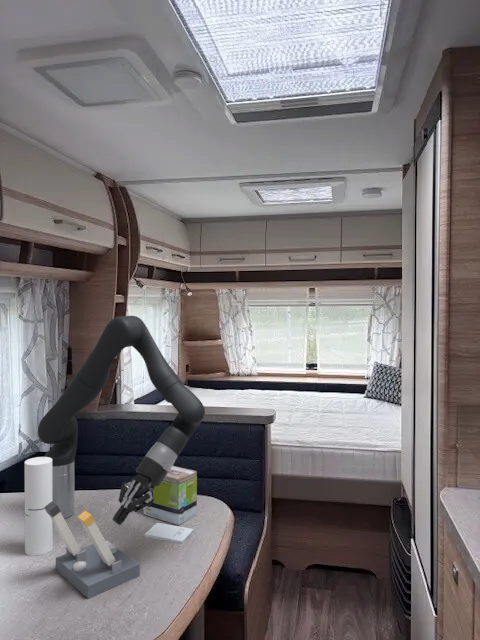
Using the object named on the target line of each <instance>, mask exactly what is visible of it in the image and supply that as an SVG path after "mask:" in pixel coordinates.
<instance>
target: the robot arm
mask: <svg viewBox="0 0 480 640" xmlns="http://www.w3.org/2000/svg"><path fill="white" fill-rule="evenodd" d="M94 346H95V347H94V348H93V349H92V351H91V352H90V353H89V355H88V357H87V358H86V359H85V361H84V362H83V364H82V365H81V367H80V368H79V369H78V371H77V372H76V373H75V375H74V376H73V378H72V380H70V382H69V384H68V386H67V387H66V388H65V390H64V391H63V392H62V394H61V396H60V397H59V398H58V400H57V401H56V402H55V404H54V405H53V406H52V407H51V408H50V409H49V411H47V413H45V415H44V416H43V417H42V418H41V420H40V421H39V424H38V429H37V436H38V438H39V440H40V441H41V442H42V443H44V444H47V445H52V447H51V448H50V449H49V450H48V451H47V452H46V453H45V454H44V456H43V457H50V458H52V502H54V503H55V504H56V505H58V507H59V509H60V511H61V514H62V516H63V518H64V520H66V519H68V518H70V517H72V516H73V515H74V514H75V457H76V453H77V449H78V434H79V433H78V432H79V430H78V429H79V426H78V420H77V417H76V416H75V415H76V414H77V413H79V412H80V411H82V410H83V409H84V408H86V407H87V406H88V405H89V404H91V403H92V402H93V401H94V400H96V398H98V396H99V395H100V393H101V392H102V391H103V389H104V388H105V387H106V385H107V383H108V382H109V378H110V375H111V374H110V372H111V366H112V364H113V362H114V361H115V359H116V358H117V356H118V355H119V354H121V352H122V351H123V350H124V349H125V348H128V347H132V348H133V349H135V351H136V352H138V354H139V355H140V356H141V358H142V359H143V361H144V363H145V366H146V370H147V371H146V372H147V373H148V376H149V379H150V382H151V383H152V385H153V386H154V388H155V389H156V391H157V392H158V393H159V395H160V396H161V397H162V398H163V400H164V401H166V402H167V403H168V404H169V403H170V404H171V406H173V408H174V409H175V410H176V412H177V413H178V414H177V415H176V416H175V418H174V419H173V421H172V422H171V424H170V425H169V426H168V427H167V428H166V429H165V430H164V431H163V432H162V434H161V435H160V436H159V437H158V439H157V441H156V442H155V443H154V444H153V445H152V446H151V448H150V449H149V450H148V451H147V453H146V454H145V456H144V458H142V460H141V462H140V463H139V465H138V466H137V468H136V469H135V473H136V475H134V476H133V477H132V478H131V480H130V481H129V482H127V481H123V482H122V483H121V487H120V490H119V496H118V502H119V503H120V506H119V508H118V510H117V511H116V512H115V513H114V515H113V517H112V521H113V522H115V523H116V524H117V525H119V526H121V525H122V524H123V523H124V522H125V520H126V519H127V518H128V516H129V515H130V513H133V512H135V513H139V511H141V510H144V507H146V506H147V505H149V504H151V503H152V502H153V501H154V498H153V497H152V492H153V490H154V487H155V486H159V485H160V484H161V482H162V481H163V479H164V478H165V476H166V475H167V473H168V472H169V470H170V469H171V467H172V466H174V464H175V462H176V461H177V459H178V457H179V455H181V452H182V451H183V449H184V448H185V446H186V444H187V442H188V441H189V439H191V437H192V435H193V434H194V433H195V432H196V430H197V429H198V428H199V426H200V425H201V423H202V422H203V420H204V417H205V415H206V414H205V413H206V409H205V406H204V404H203V402H202V401H201V399H200V398H199V397H197V396H196V394H195V393H194V392H192V391H191V389H189V388H188V387H187V386H186V385H185V383H183V381H182V380H181V378H180V377H179V376H178V374H177V373H176V372H175V370H173V369H172V367H171V366H170V364H169V363H168V362H167V360H166V359H165V357H164V355H163V354H162V352H161V350H160V349H159V347H158V345H157V343H156V341H155V340H154V338H153V336H152V334H151V332H150V330H149V328H148V327H147V325H146V323H145V322H144V321H143V319H141V318H140V317H138V316H137V315H123V316H116V317H114V318H112V319H111V320H110V321H109V322H108V323H107V325H106V326H105V327H104V329H103V331H102V333H101V336H100V337H99V339H98V341H97V342H96V345H94Z"/></svg>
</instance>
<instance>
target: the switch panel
mask: <svg viewBox="0 0 480 640" xmlns="http://www.w3.org/2000/svg"><path fill="white" fill-rule="evenodd" d="M104 540H105V541H106V543H107V545H108V547H109V549H110V551H111V552H112V554H113V556H114V558H115V561H114V563H112V567H111V566H108V565H107V564H106V563H104V562H103V561H102V559H101V557H100V555H99V553H98V552H97V550H96V548H95V546H94V544H93V543H91V544H90V545H87V546H84V547H82V548H80V549H81V551H80V552H79V553H77V556H74V555H72V554H71V553H70V552H69V551H68V549H67V547H66V546H65V549H66V550H65V551H66V552H65V554H62V555H59V556H57V557H55V570H56V571H57V572H58V573H59V574H61V575H62V577H64V578H65V579H66V580H67V581H68V583H71V585H72V586H74V587H75V588H76V589H77V590H78V591H79V592H80V593H81V594H82V595H83V596H85V597H86V598H87V600H89V599H91V598H93V597H95V596H98V595H101V594H102V593H104V592H106V591H109V590H111V589H113V588H116V587H118V586H120V585H122V584H124V583H127V582H130V581H131V580H133V579H136V578H138V577H140V571H141V567H140V563H138V562H137V561H136V560H134V559H133V558H131V557H130V556H128V555H127V554H125V553H124V551H121V550H120V549H119V548H118V547H117V546H115V545H114V544H113V543H111V542H110V541H109V540H106V539H104Z"/></svg>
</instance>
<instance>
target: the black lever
mask: <svg viewBox="0 0 480 640" xmlns="http://www.w3.org/2000/svg"><path fill="white" fill-rule="evenodd" d="M44 508H45V510H46V512H47V513H48V514H49V516H50V518H51V520H52V524H53V525H54V527H55V529H56V530H57V532H58V534H59V536H60V538H61V540H62V542H63V543H64V545H65V548H66V547H67V549H68V551H69V552H70V553H71V554H72V555H74V556H77V553H79V552H80V551H81V548H80V546H79V544H78V542H77V540H76V538H75V536H74V535H73V533H72V531H71V529H70V527H69V525H68V523H67V522H66V519H64V518H63V516H62V514H61V511H60V509H59V507H58V505H56V504H55V503H54V502H50V503H49V504H48V505H46V506H45V507H44Z"/></svg>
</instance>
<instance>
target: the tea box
mask: <svg viewBox="0 0 480 640" xmlns="http://www.w3.org/2000/svg"><path fill="white" fill-rule="evenodd" d="M197 473H198V471H197V470H194V469H189V468H185V467H184V468H183V467H180V466H175V465H173V466H172V467H171V469H170V470H169V472H168V473H167V475H166V476H165V478H164V479H163V481H162V482H161V484H160V485H159V486H155V487H154V490H153V492H152V497H153V498H154V501H153V502H152V503H151V504H149V505H147V506H146V507H144V508H143V515H145V516H149V517H150V518H154V519H156V520H160V521H163V522H167V523H170V524H172V525H173V524H174V525H175V526H179V525H182V524H184V523H185V522H187V521H189V520H190V519H192V518H194V517H195V516H196V515H197V513H198V512H197V511H198V510H197V508H198V507H197V506H198V500H197V499H198V497H197V496H198V491H197V490H198V488H197V487H198V474H197Z"/></svg>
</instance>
